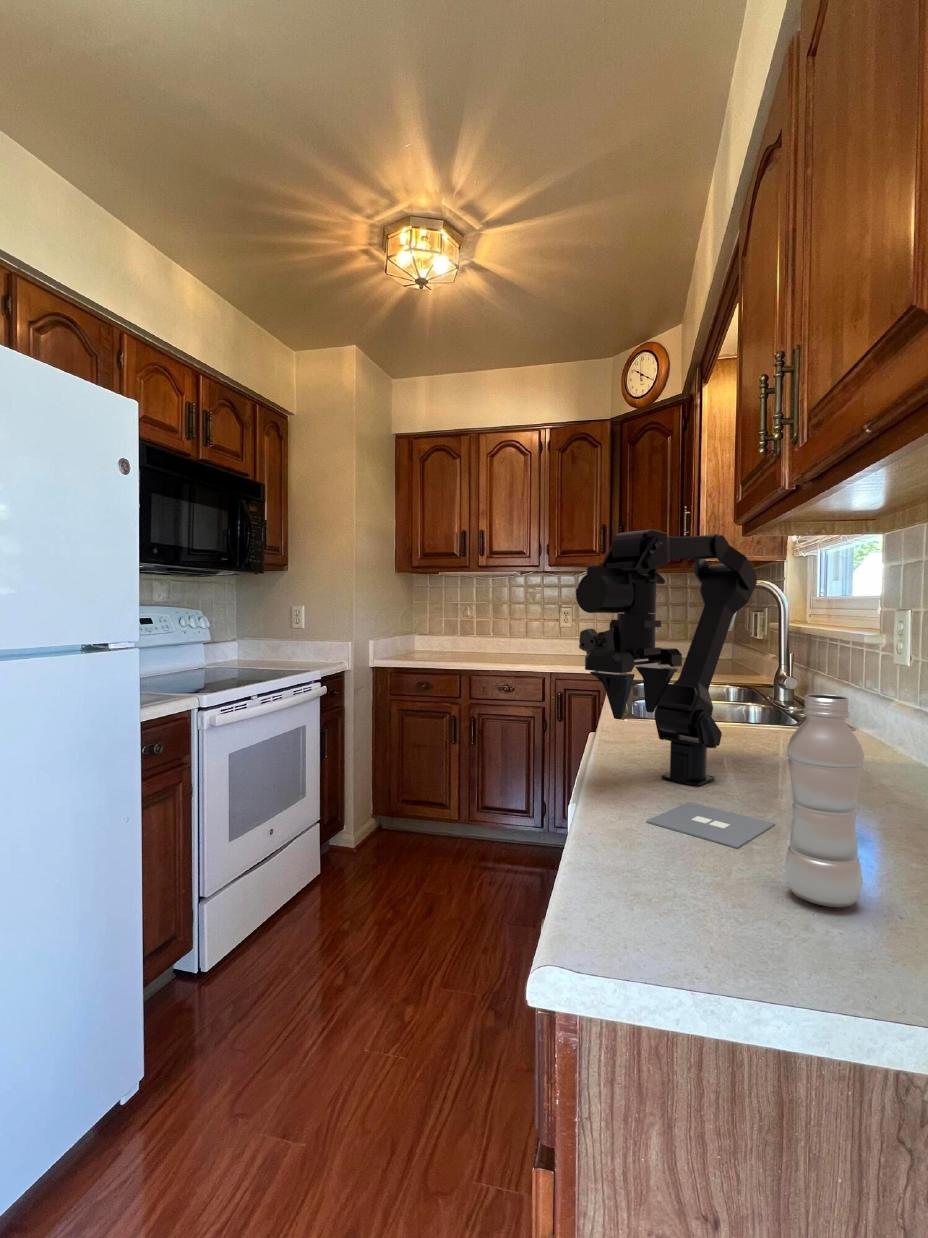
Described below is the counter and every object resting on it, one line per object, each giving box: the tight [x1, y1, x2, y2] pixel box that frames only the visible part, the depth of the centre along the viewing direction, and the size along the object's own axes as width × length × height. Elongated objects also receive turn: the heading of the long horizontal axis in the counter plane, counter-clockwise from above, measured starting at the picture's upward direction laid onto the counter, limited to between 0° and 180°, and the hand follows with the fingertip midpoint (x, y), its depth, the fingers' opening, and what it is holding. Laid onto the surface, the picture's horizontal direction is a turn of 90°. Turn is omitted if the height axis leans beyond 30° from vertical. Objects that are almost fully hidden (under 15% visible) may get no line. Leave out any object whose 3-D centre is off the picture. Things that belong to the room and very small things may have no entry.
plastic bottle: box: [784, 693, 865, 908], centre depth 60 cm, size 6×7×20 cm
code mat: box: [645, 801, 776, 850], centre depth 82 cm, size 12×12×1 cm
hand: (634, 715), depth 94 cm, fingers open, 9 cm apart
